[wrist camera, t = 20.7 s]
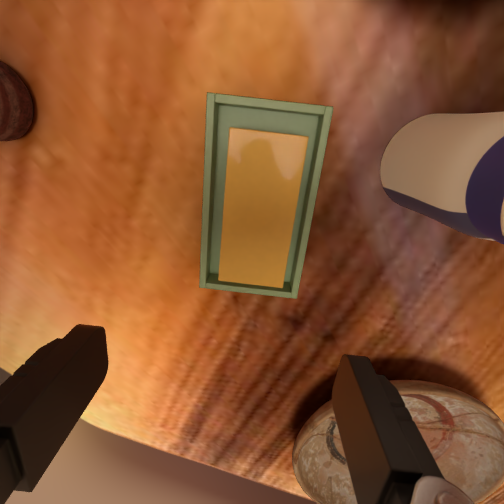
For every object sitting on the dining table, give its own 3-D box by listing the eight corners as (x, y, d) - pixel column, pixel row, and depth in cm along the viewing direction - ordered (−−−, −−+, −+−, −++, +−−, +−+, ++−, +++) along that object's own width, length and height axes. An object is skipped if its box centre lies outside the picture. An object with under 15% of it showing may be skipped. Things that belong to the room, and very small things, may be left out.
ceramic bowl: (350, 325, 31) (366, 359, 26) (526, 398, 34) (568, 440, 29) (260, 452, 39) (260, 494, 35) (407, 501, 42) (424, 546, 38)
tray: (204, 275, 29) (199, 287, 27) (212, 96, 23) (206, 92, 21) (294, 285, 29) (296, 298, 27) (327, 109, 23) (333, 106, 21)
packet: (234, 127, 23) (229, 126, 20) (302, 135, 23) (308, 136, 20) (224, 261, 28) (218, 281, 24) (280, 267, 28) (282, 288, 24)
